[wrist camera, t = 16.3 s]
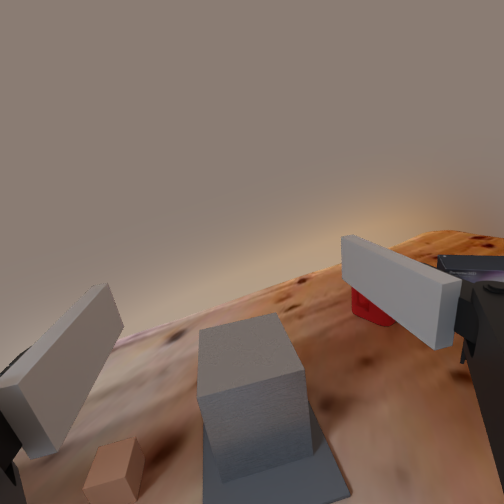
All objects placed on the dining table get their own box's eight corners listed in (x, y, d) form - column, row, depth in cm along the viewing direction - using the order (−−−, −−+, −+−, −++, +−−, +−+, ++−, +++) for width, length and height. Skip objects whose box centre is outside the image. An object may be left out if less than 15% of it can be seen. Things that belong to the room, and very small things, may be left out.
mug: (369, 296, 55) (369, 251, 51) (410, 310, 48) (413, 259, 45) (335, 321, 48) (333, 271, 45) (377, 340, 42) (378, 284, 39)
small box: (437, 321, 44) (444, 268, 41) (431, 302, 50) (436, 253, 46) (519, 330, 39) (534, 271, 36) (501, 308, 45) (513, 254, 42)
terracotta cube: (96, 514, 25) (82, 489, 24) (110, 470, 29) (98, 446, 28) (136, 501, 26) (124, 476, 24) (145, 459, 29) (135, 436, 28)
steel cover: (222, 484, 26) (196, 397, 22) (217, 400, 35) (199, 330, 31) (313, 455, 27) (304, 369, 23) (285, 382, 36) (275, 312, 32)
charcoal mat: (203, 546, 22) (202, 543, 22) (204, 383, 39) (203, 381, 39) (350, 496, 23) (350, 493, 23) (289, 361, 40) (289, 359, 40)
